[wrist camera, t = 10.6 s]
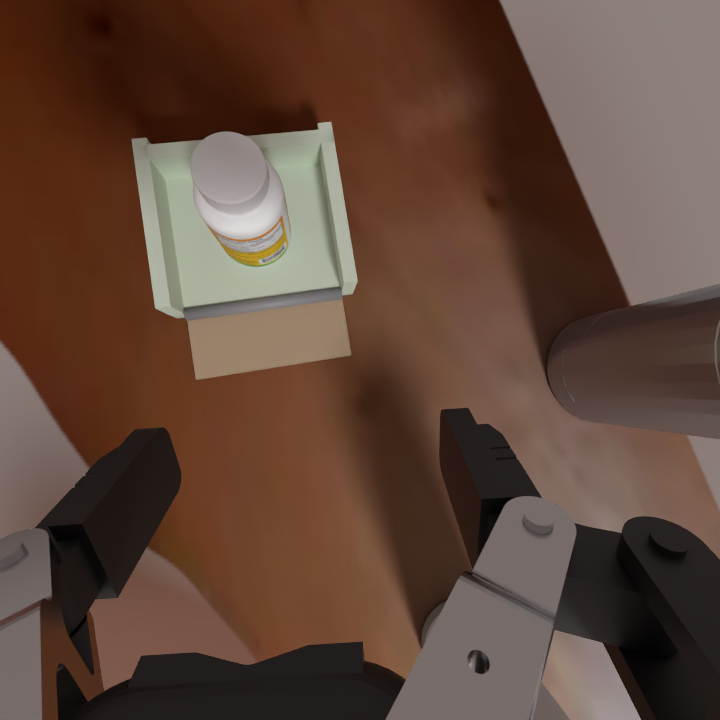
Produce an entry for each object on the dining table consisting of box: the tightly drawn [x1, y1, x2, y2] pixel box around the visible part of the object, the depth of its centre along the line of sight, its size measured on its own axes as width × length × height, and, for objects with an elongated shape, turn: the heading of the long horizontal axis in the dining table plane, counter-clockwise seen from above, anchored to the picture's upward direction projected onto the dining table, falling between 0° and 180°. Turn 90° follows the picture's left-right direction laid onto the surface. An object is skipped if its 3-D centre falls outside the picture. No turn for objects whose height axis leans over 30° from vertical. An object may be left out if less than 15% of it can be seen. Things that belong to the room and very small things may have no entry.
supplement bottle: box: [190, 132, 291, 268], centre depth 25 cm, size 5×5×10 cm
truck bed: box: [131, 122, 357, 380], centre depth 29 cm, size 14×17×4 cm
